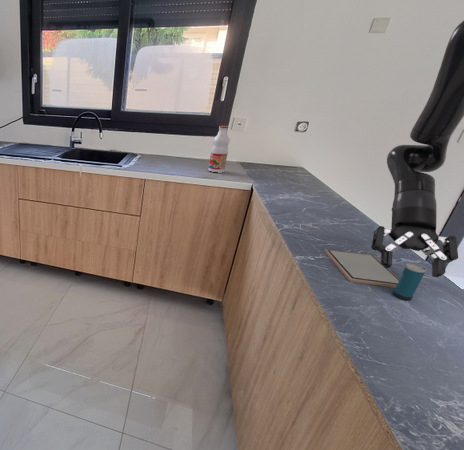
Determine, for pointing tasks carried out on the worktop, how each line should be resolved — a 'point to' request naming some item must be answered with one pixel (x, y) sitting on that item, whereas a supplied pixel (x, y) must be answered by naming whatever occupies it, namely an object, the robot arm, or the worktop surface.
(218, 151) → the fruit juice
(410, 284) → the tumbler
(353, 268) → the tablet
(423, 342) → the worktop surface
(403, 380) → the worktop surface
